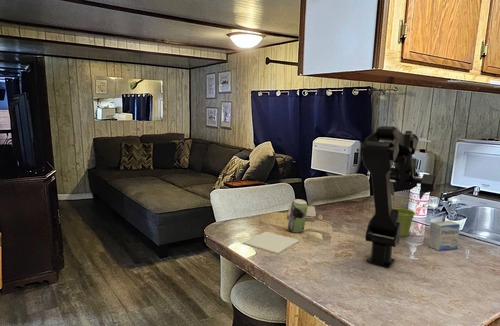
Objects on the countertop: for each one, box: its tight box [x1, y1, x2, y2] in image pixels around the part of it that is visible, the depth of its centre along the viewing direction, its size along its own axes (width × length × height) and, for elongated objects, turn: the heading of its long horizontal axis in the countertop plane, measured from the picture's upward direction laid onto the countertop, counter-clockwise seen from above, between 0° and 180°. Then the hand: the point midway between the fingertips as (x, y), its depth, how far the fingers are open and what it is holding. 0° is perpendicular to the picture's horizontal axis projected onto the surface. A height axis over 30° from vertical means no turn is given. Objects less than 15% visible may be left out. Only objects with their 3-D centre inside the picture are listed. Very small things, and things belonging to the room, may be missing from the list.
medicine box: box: [428, 220, 461, 252], centre depth 114 cm, size 8×4×9 cm, turn 105°
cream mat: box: [242, 231, 300, 255], centre depth 117 cm, size 14×14×1 cm
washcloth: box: [287, 205, 317, 222], centre depth 150 cm, size 12×18×3 cm, turn 173°
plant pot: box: [392, 207, 416, 237], centre depth 127 cm, size 9×9×9 cm
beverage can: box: [287, 198, 309, 233], centre depth 128 cm, size 6×7×12 cm
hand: (406, 196), depth 125 cm, fingers open, 9 cm apart
